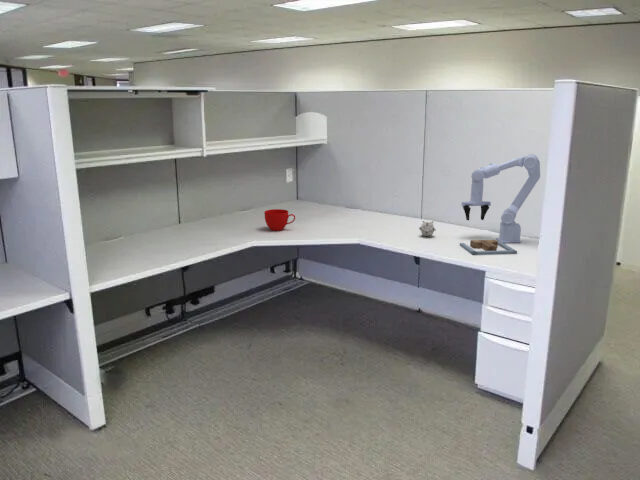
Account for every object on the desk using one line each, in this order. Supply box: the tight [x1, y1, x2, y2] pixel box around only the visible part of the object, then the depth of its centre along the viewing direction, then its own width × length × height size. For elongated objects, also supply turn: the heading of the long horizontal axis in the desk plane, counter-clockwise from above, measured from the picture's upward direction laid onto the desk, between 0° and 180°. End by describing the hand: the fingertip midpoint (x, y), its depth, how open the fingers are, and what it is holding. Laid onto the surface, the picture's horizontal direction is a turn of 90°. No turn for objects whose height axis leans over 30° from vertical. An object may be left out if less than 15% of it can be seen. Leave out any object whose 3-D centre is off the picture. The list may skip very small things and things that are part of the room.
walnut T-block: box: [469, 239, 499, 251], centre depth 257 cm, size 12×12×3 cm
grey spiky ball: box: [418, 220, 437, 238], centre depth 280 cm, size 9×8×10 cm
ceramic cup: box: [263, 208, 296, 232], centre depth 294 cm, size 13×17×10 cm
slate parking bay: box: [459, 241, 518, 256], centre depth 256 cm, size 21×17×1 cm
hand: (474, 219), depth 276 cm, fingers open, 7 cm apart
